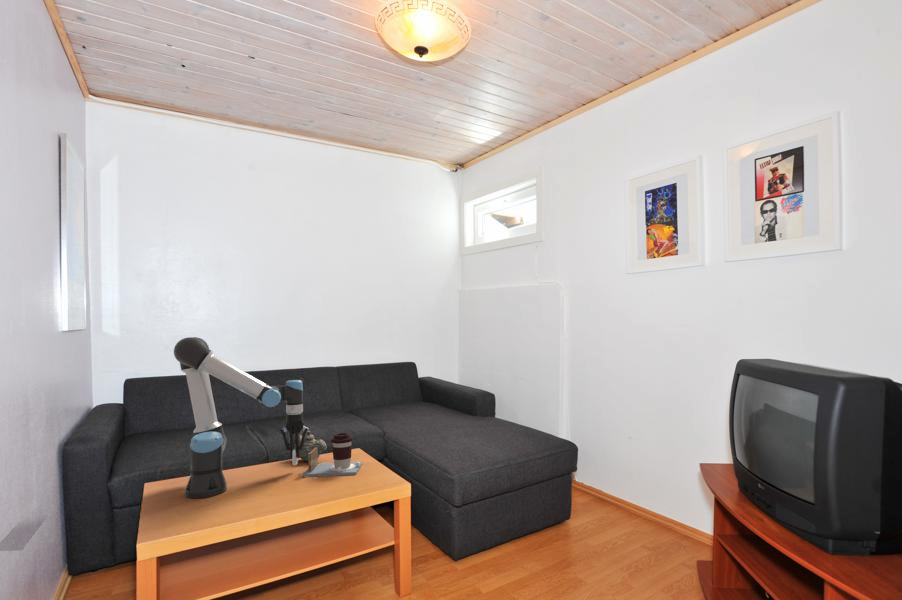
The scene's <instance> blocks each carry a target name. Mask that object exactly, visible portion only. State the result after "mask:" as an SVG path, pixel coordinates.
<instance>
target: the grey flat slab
mask: <svg viewBox="0 0 902 600" xmlns="http://www.w3.org/2000/svg"><path fill="white" fill-rule="evenodd" d="M362 466H363V461H351V463H350V467H348V468H344V469H341V467H337V468H335V467H334V462H328V463H327V462H326V463H323V462H321V463H318V465H317V466H316V467H315V468H314V469H313V470H312V471H311V472H308V468H307V469H306V470H305V471H304V472H303V473H302V478H309V477H310V478H311V477H315V478H316V477H335V476H355V475H357V474H358V472H359V471H360V470H361V468H362Z"/></svg>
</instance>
